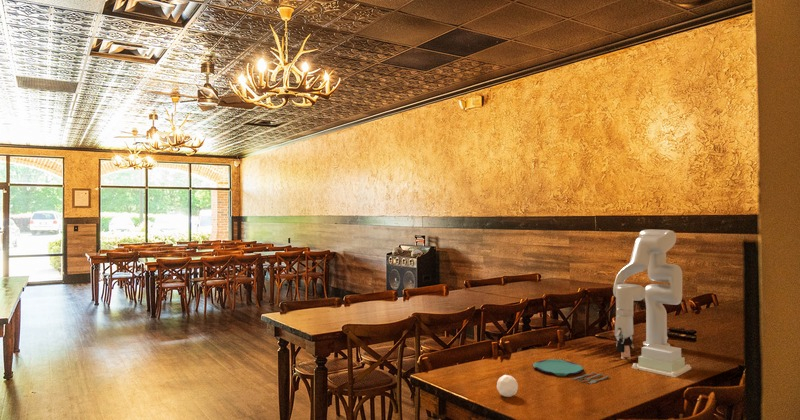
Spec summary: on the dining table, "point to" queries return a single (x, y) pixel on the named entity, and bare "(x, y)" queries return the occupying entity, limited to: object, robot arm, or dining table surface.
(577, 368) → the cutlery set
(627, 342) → the grandmother figurine
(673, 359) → the white stepped pedestal
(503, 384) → the geometric ball
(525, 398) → the dining table surface
